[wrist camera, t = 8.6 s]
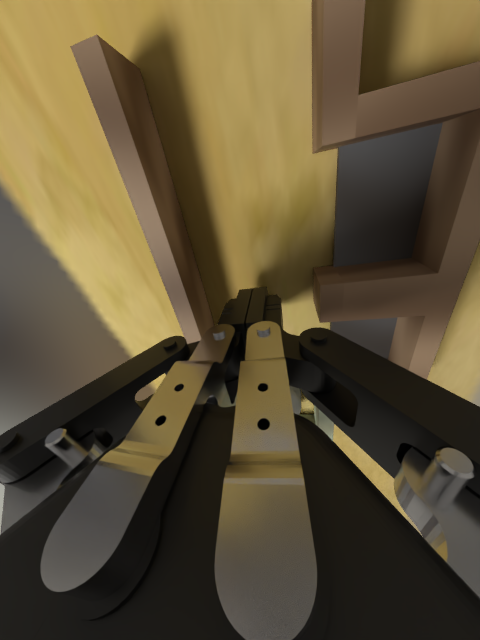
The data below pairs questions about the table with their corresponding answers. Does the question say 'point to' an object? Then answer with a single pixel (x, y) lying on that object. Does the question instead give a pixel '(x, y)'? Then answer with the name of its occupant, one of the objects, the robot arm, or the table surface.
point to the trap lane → (351, 191)
